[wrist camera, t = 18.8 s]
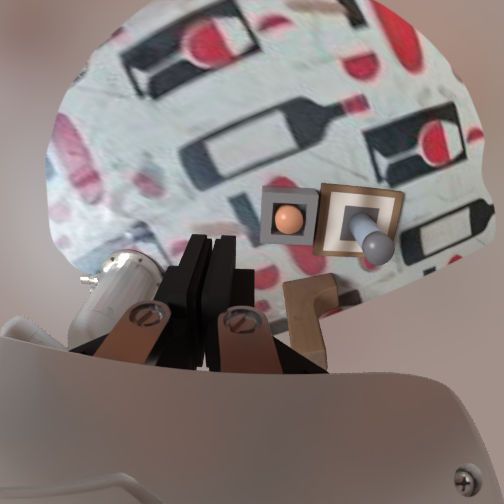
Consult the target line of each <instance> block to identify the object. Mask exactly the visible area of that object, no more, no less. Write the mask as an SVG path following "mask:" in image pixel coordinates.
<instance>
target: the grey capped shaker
mask: <svg viewBox="0 0 504 504" xmlns="http://www.w3.org/2000/svg"><path fill="white" fill-rule="evenodd" d="M348 227H349V230H350V232H351V233H352V235H353V237H354V238H355V240H356V241H357V243H358V244H359V246H360V247H361V249H362V251H363V253H364V255H365V256H366V258H367V259H368V261H369V262H370V263H371V264H373V265H383V264H385V263H387V262H388V261H389V260H390V259H391V258H392V256H393V254H394V250H395V248H394V243H393V242H392V240H391V239H390V238H389V237H388V236H387V235H386V234H385V233H384V232H383V231H382V230H381V229H380V228H379V227H378V226H377V225H376V223H375V222H374V221H373V220H372V219H371V218H370V217H369V216H368V215H367V214H365V213H357V214H355V215H353V216H352V217H351V219H350V221H349V224H348Z"/></svg>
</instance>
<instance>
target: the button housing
mask: <svg viewBox="0 0 504 504" xmlns="http://www.w3.org/2000/svg"><path fill="white" fill-rule="evenodd" d="M318 198H319V195H318V193H317V192H316V190H315V189H311V188H296V187H279V186H262V203H261V222H260V243H266V244H290V245H313V237H314V230H315V222H316V214H317V206H318ZM284 203H290V204H295V205H296V206H297V207H298V208H299V210H300V212H301V214H302V217H303V225H302V227H301V228H300V230H299V231H297V232H296V233H293V234H285V233H282V232H281V231H280V230H279V229H278V228H277V226H276V222H275V211H276V209H277V208H278V207H279V206H280V205H281V204H284Z"/></svg>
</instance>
